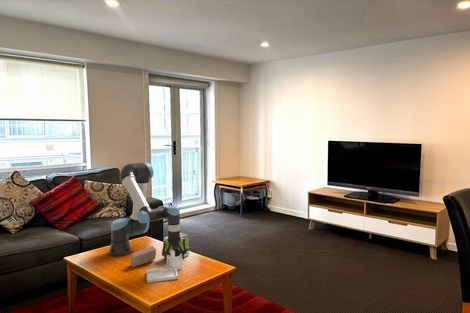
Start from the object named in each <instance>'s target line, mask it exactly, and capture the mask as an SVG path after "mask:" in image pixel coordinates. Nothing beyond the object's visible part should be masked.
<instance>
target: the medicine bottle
mask: <svg viewBox="0 0 470 313" xmlns="http://www.w3.org/2000/svg"><path fill="white" fill-rule="evenodd" d="M183 262H184V260H183V258H182V257H180V250H178V249H173V250H171V251H170V257H168V267H167V268H174V267H176V269H177V271H179V270H182V269H184V263H183Z"/></svg>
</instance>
